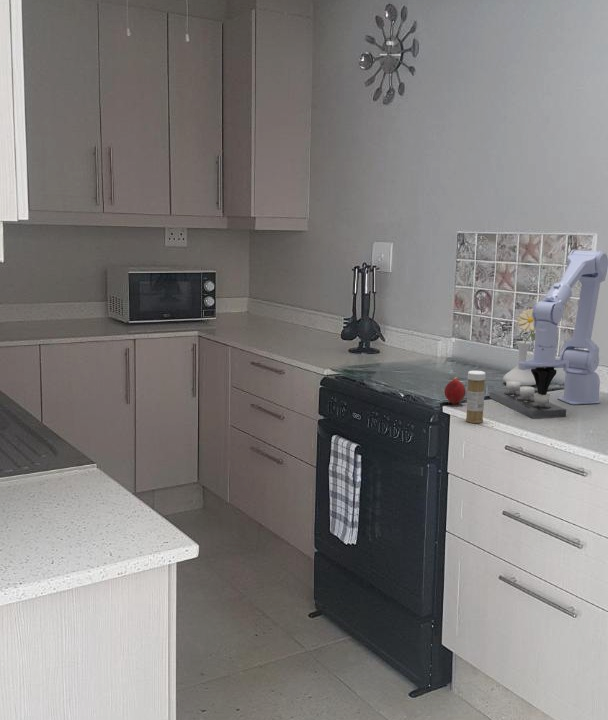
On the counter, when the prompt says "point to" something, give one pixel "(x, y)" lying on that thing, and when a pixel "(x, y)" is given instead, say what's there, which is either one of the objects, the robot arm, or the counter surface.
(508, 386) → the knob
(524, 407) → the panel
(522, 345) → the flower in vase
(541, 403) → the knob
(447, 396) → the onion
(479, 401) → the sprinkles bottle
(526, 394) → the knob mid
